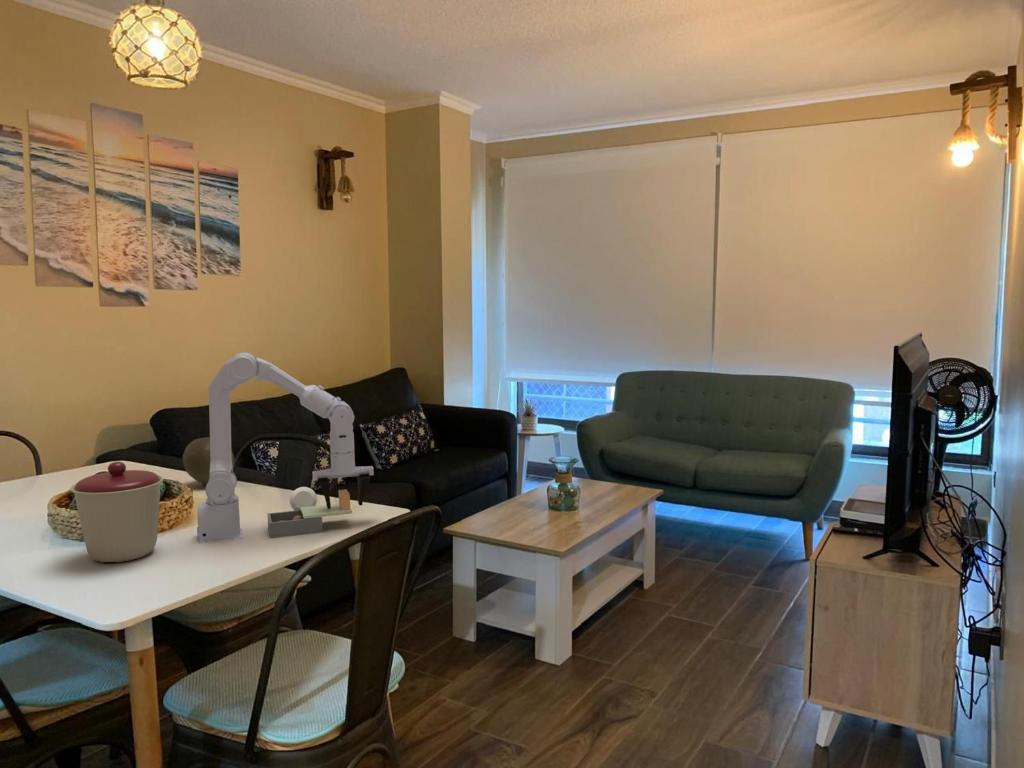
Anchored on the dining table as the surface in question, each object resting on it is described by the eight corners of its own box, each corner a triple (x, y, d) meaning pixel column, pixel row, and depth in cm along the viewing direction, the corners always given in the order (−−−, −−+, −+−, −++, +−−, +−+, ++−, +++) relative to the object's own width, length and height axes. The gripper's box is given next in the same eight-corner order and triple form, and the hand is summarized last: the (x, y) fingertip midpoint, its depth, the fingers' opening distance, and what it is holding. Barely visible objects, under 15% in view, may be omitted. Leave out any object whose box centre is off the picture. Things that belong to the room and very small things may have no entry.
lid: (303, 518, 181) (302, 500, 181) (300, 509, 189) (299, 492, 189) (352, 513, 185) (351, 495, 185) (347, 504, 193) (346, 487, 193)
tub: (270, 540, 179) (269, 523, 178) (268, 529, 187) (267, 513, 187) (322, 533, 183) (322, 517, 183) (318, 523, 191) (317, 508, 191)
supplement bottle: (318, 509, 203) (319, 510, 190) (292, 515, 201) (292, 516, 189) (314, 484, 203) (314, 484, 191) (288, 489, 201) (287, 489, 189)
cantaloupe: (225, 477, 243) (222, 431, 241) (242, 485, 232) (239, 436, 231) (179, 485, 234) (176, 436, 233) (193, 493, 223) (190, 443, 222)
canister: (83, 548, 175) (76, 457, 172) (170, 538, 181) (164, 451, 179) (69, 574, 158) (61, 474, 156) (165, 563, 164) (158, 466, 162)
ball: (292, 529, 185) (292, 517, 185) (291, 526, 188) (291, 514, 187) (305, 528, 186) (305, 516, 186) (304, 525, 189) (303, 513, 188)
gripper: (369, 446, 193) (371, 499, 195) (310, 451, 188) (312, 505, 190) (374, 451, 187) (376, 505, 188) (313, 456, 182) (315, 512, 183)
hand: (344, 506), depth 189 cm, fingers open, 7 cm apart
